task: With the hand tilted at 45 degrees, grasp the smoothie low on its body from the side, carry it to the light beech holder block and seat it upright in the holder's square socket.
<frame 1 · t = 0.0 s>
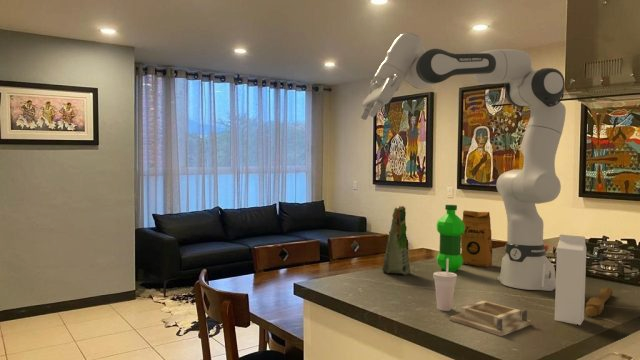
hand: (367, 117, 147), 54 cm above the counter, tool tilted 30°, fingers open, 8 cm apart
pouch: (396, 273, 173), on the counter
coffee package: (476, 265, 191), on the counter
plastic bottle: (449, 270, 180), on the counter
tap handle: (599, 307, 136), on the counter
holder: (490, 322, 118), on the counter
milk: (569, 320, 121), on the counter
smoothie: (444, 309, 129), on the counter
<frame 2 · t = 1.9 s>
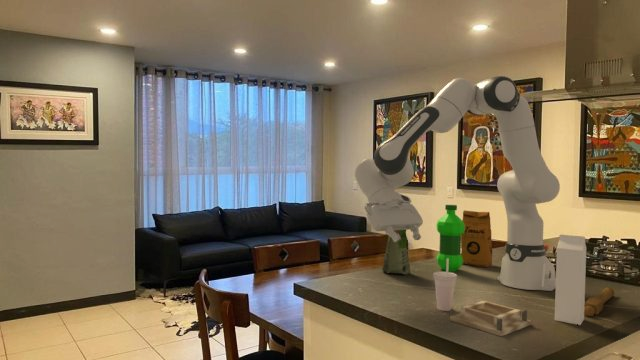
hand: (408, 239, 138), 17 cm above the counter, tool tilted 45°, fingers open, 8 cm apart
nothing on the counter moved.
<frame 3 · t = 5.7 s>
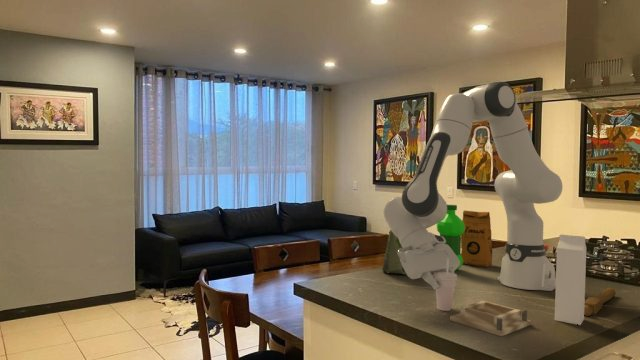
hand: (446, 286, 128), 6 cm above the counter, tool tilted 45°, fingers closed on smoothie, 6 cm apart
smoothie: (444, 309, 129), on the counter, touching gripper
everything else where it was.
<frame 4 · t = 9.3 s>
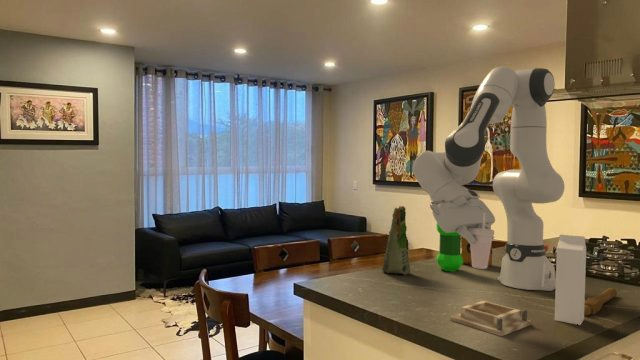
hand: (482, 241, 120), 20 cm above the counter, tool tilted 45°, fingers closed on smoothie, 6 cm apart
smoothie: (479, 267, 120), point 13 cm above the counter, touching gripper
everything else where it was.
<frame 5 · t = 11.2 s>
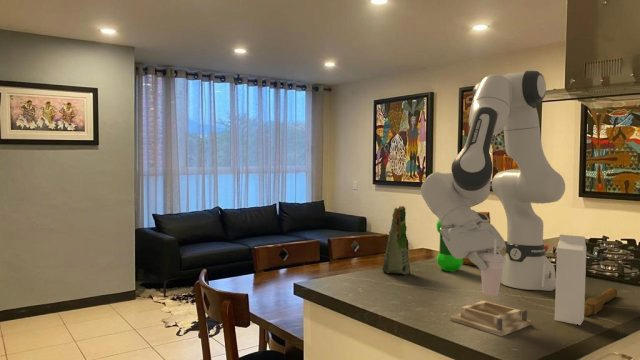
hand: (493, 267, 117), 14 cm above the counter, tool tilted 45°, fingers closed on smoothie, 6 cm apart
smoothie: (490, 294, 118), point 7 cm above the counter, touching gripper
everything else where it was.
when the fingers open (9 cm above the counter, at t = 13.0 s): smoothie moves 1 cm, resting on holder.
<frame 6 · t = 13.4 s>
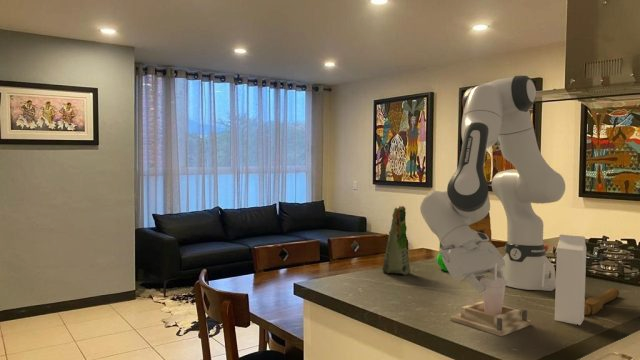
hand: (493, 288, 117), 9 cm above the counter, tool tilted 45°, fingers open, 8 cm apart
smoothie: (492, 318, 119), point 1 cm above the counter, touching gripper, holder
everything else where it was.
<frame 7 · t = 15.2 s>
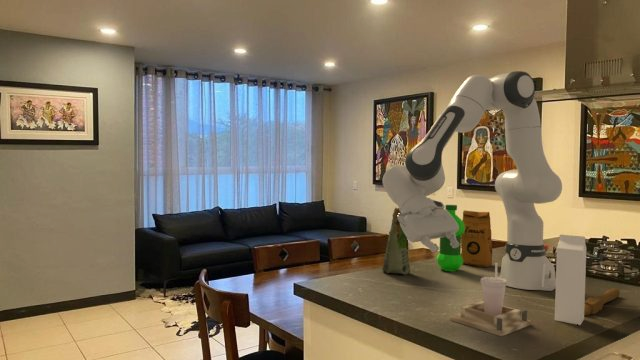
hand: (446, 248, 130), 16 cm above the counter, tool tilted 45°, fingers open, 8 cm apart
smoothie: (492, 318, 119), point 1 cm above the counter, touching holder
everything else where it was.
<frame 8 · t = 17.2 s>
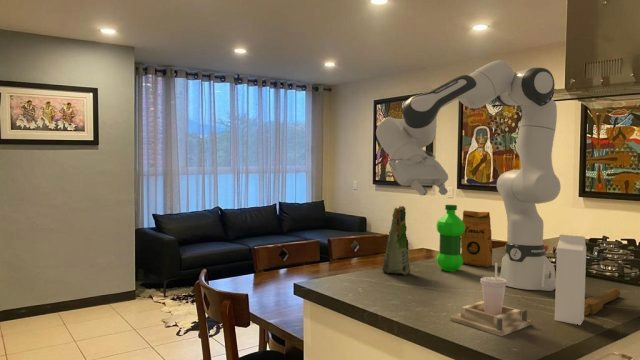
hand: (435, 193, 135), 31 cm above the counter, tool tilted 45°, fingers open, 8 cm apart
at the end: smoothie 1.2 cm off-centre on the holder, point 0.8 cm above the holder's base; smoothie tilted 0°; the gripper is holding nothing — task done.
